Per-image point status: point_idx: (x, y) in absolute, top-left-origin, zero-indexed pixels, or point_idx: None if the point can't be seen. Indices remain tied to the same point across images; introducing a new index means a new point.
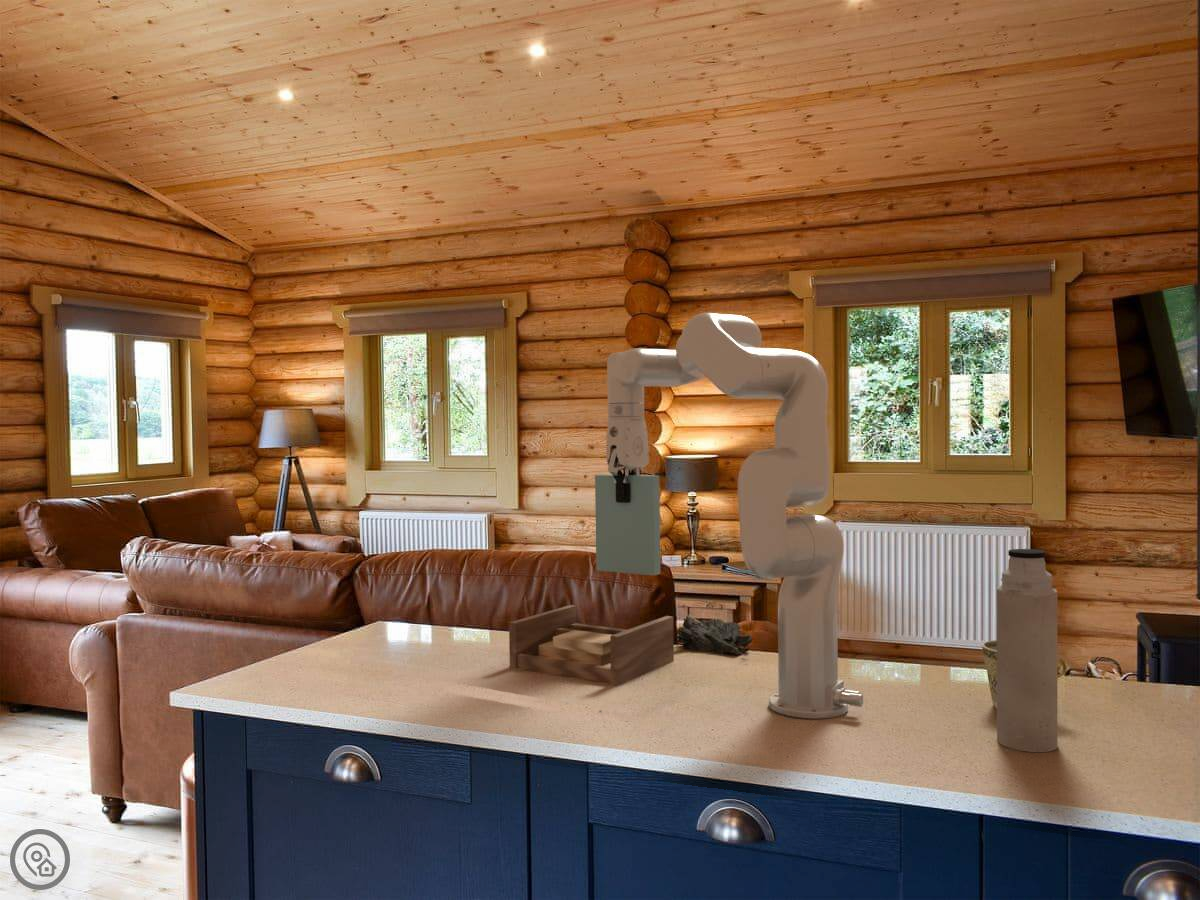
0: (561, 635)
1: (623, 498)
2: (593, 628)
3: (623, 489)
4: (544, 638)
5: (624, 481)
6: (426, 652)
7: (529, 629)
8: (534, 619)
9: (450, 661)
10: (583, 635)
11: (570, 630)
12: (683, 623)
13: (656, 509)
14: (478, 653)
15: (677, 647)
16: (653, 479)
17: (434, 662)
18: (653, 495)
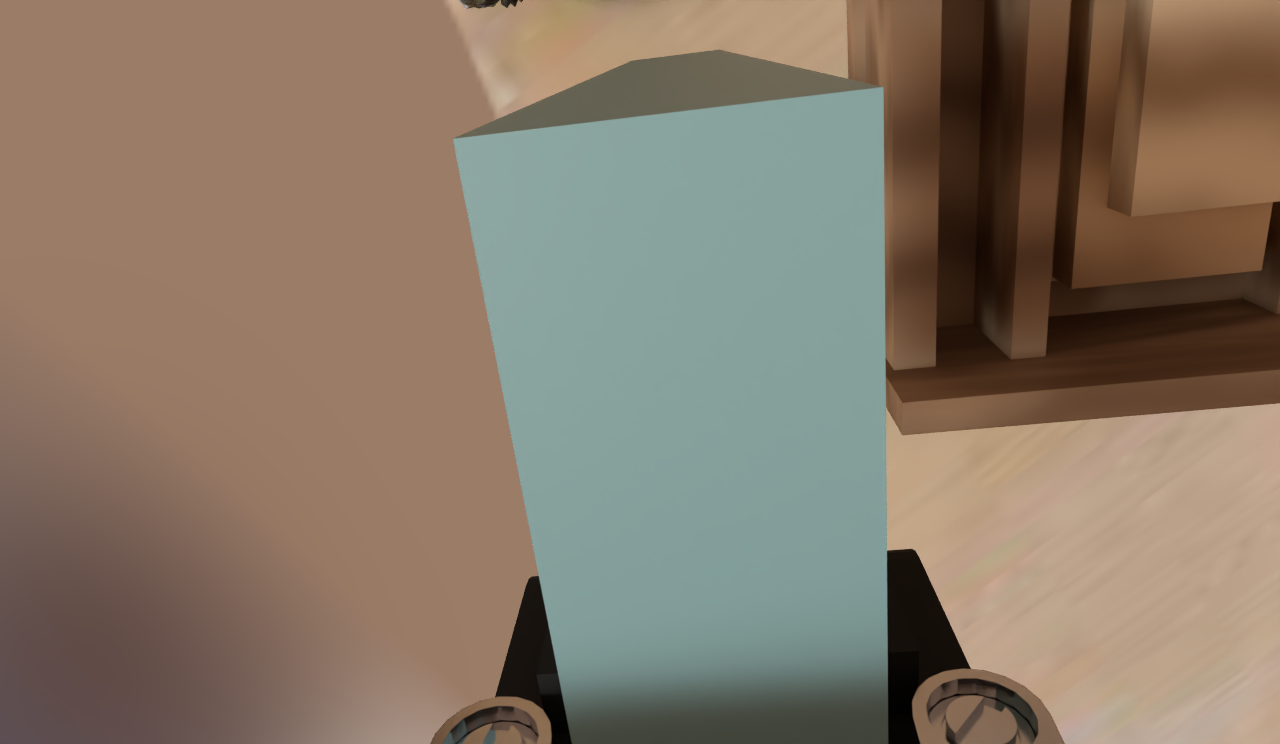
0: (1268, 186)
1: (888, 553)
2: (937, 241)
3: (952, 631)
4: (1123, 339)
5: (1038, 710)
6: (1090, 717)
7: (1272, 350)
8: (1257, 367)
9: (1159, 591)
10: (1228, 97)
11: (1039, 289)
12: (516, 3)
13: (677, 70)
14: (1020, 595)
15: (511, 68)
16: (839, 85)
17: (1193, 619)
18: (789, 67)
